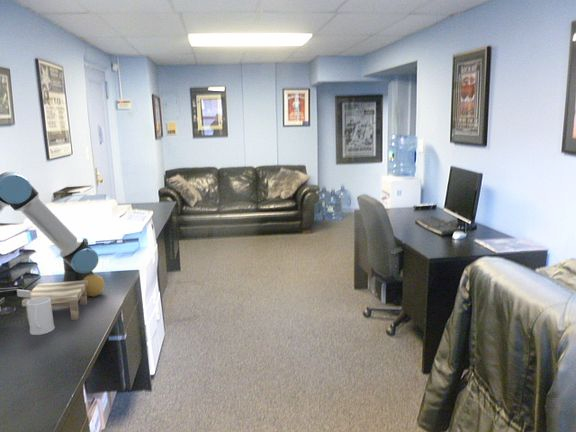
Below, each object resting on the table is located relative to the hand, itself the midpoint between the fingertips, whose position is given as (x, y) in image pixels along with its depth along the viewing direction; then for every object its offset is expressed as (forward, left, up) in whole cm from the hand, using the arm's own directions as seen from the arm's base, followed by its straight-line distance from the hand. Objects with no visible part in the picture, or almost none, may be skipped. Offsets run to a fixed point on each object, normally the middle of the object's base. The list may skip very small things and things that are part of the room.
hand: (15, 300), depth 176 cm
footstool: (-17, 0, -11) cm, 20 cm away
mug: (-2, +10, -12) cm, 16 cm away
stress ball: (-37, -3, -12) cm, 39 cm away
